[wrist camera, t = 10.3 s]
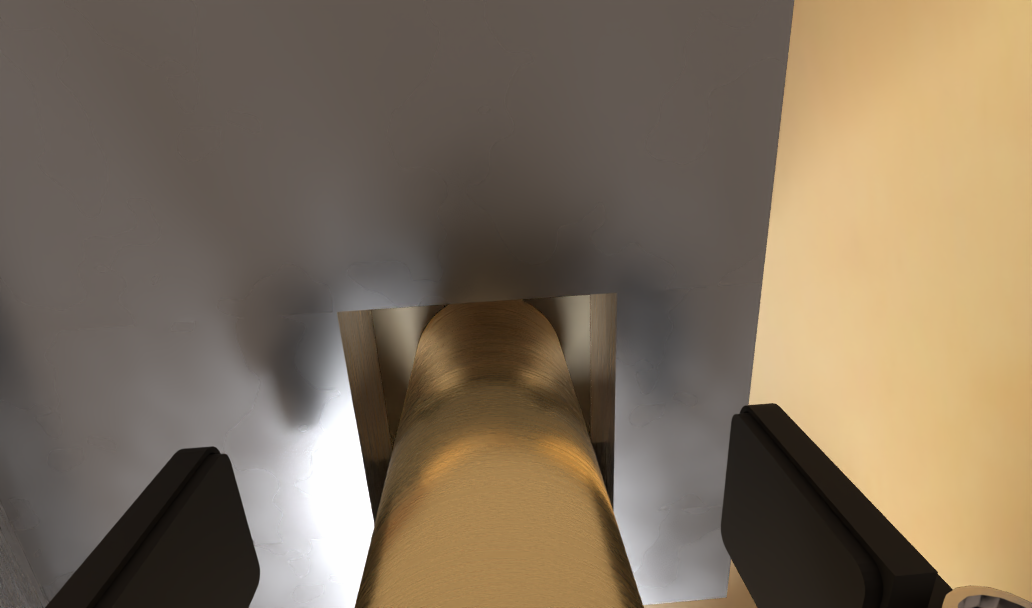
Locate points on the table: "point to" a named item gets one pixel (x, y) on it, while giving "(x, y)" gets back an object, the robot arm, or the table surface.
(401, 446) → the brass bushing
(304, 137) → the plate
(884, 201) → the table surface
